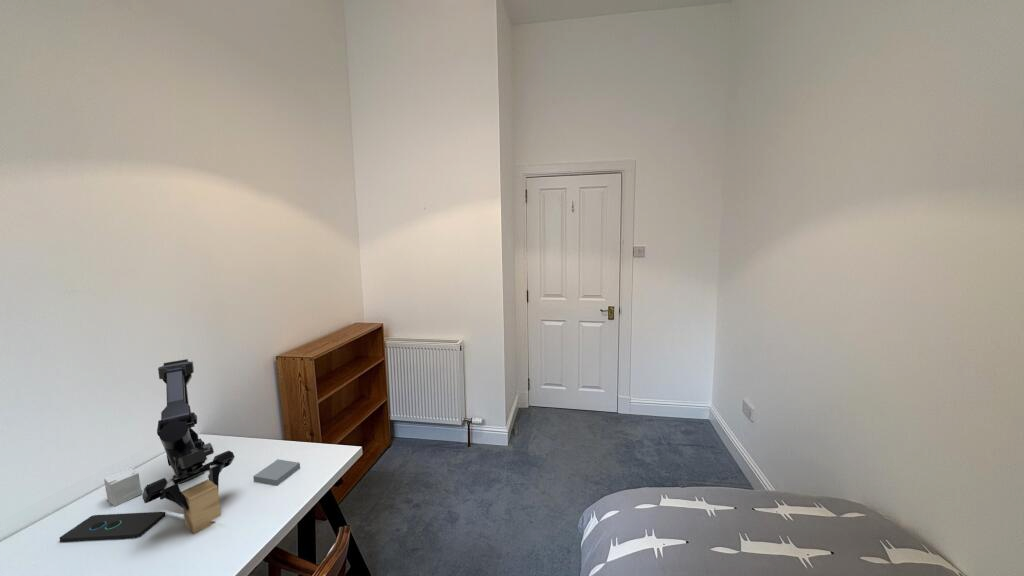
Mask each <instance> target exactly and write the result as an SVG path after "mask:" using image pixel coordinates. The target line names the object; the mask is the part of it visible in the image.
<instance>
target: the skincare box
mask: <svg viewBox="0 0 1024 576" xmlns="http://www.w3.org/2000/svg"><path fill="white" fill-rule="evenodd" d="M139 474H140V473H139V472H137V471H136V470H135V469H133V467H130V468H127V469H125V470H122V471H120V472H119V471H118V472H117V473H115V474H111V475H108V476H106V477H105V478H103V483H104V486H105V492H106V499H107V501H108V502H109V503H110V504H111V505H112V506H113V507H116V506H119V505H121V504H123V503H126V502H127V501H129V500H131V499H134V498H136V497H138V496H140V495H142V494H143V493H142V486H141V482H140V475H139Z"/></svg>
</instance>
